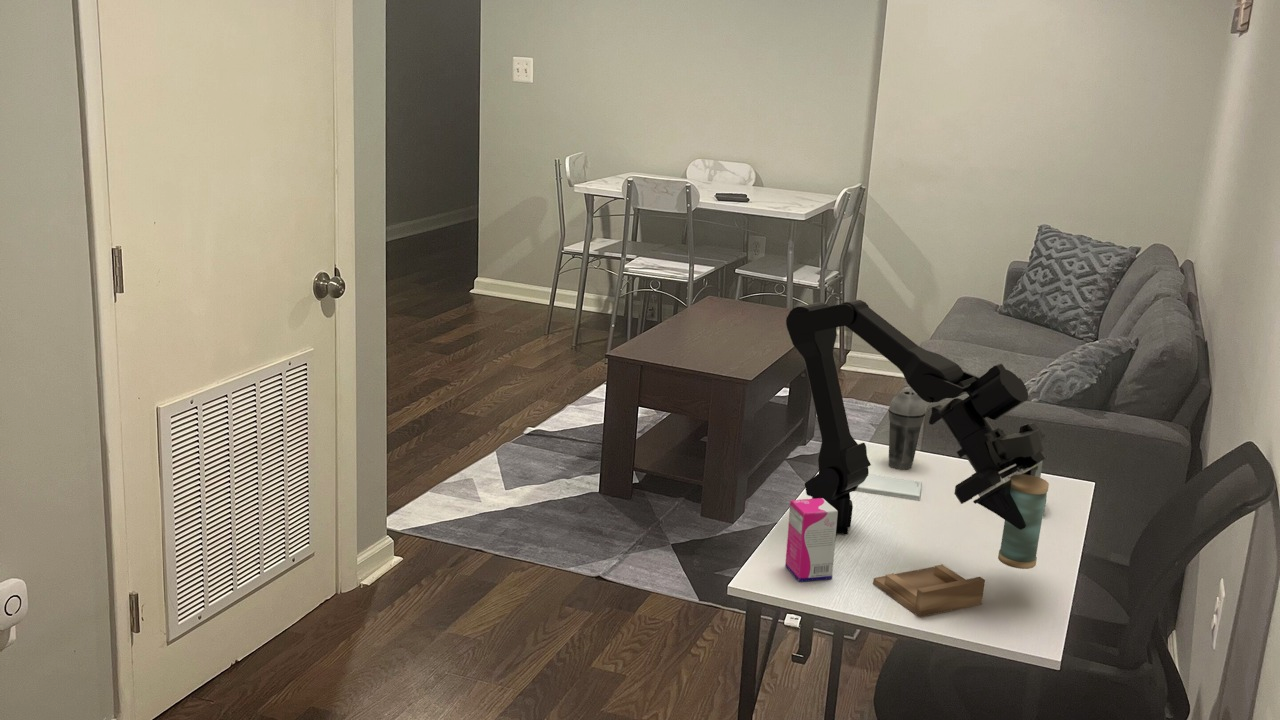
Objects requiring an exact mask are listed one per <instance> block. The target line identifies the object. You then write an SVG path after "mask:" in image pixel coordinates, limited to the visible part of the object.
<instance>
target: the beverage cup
mask: <svg viewBox="0 0 1280 720" xmlns="http://www.w3.org/2000/svg"><path fill="white" fill-rule="evenodd" d="M913 391H914V390H913V389H912V388H911V387H910V389H909V391H902V392H899V393H898V394H896V395H894V397H893V398H892V400H891V402H890V404H889V407H888V410H887V411H888V420H889V434H888V435H889V436H888V437H889V438H888V440H889V441H888V442H889V443H888V466H889V467H890V468H891V469H894V470H899V471H910V470H911V469H912V467H913V464H914V459H915V455H916V451H917V445H918V442H919V437H920V432H921V428H922V425H923V423H924V419H925V416H926V406H925V402H924V400H922V399H921V398H920V397H919V396H918V395H917V394H916V393H915V392H913Z"/></svg>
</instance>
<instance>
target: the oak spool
mask: <svg viewBox="0 0 1280 720" xmlns="http://www.w3.org/2000/svg"><path fill="white" fill-rule="evenodd" d="M1010 480H1011V489H1010V494H1011V496H1012V498H1013V500H1014V502H1015V504H1016V506H1017V507H1018V509H1019V511H1020V513H1021V515H1022V517H1023V519H1024V521H1025V524H1026V527H1025V528H1024V529H1022V530H1020V529H1018V528H1016V527H1015V526H1013V525H1012V524H1010V523H1009V522H1007V521H1006V520H1004V522H1003V528H1002V529H1003V530H1002V536H1001V543H1000V547H999V548H1000V549H999V550H998V556H997V560H998V561H1000V563H1002V564H1003V565H1005V566H1008V567H1010V568H1013V569H1015V568H1016V569H1020V570H1021V569H1022V570H1027V569H1028V570H1029V569H1033V568H1035V566H1037V560H1038V559H1037V555H1038V554H1037V553H1038V547H1039V541H1040V535H1041V529H1042V524H1043V523H1042V521H1043V517H1044V516H1043V515H1044V512H1045V511H1044V510H1045V509H1044V508H1045V507H1044V504H1045V498H1046V493H1047V494H1048V492H1049V485H1050V484H1049V482H1048V481H1047V480H1046V479H1044V478H1041V477H1040V478H1039V477H1036V476H1032V475H1024V474H1018V475H1013V476H1011V477H1010ZM1046 499H1047V498H1046ZM1045 505H1046V504H1045Z"/></svg>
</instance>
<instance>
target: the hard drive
mask: <svg viewBox="0 0 1280 720" xmlns="http://www.w3.org/2000/svg"><path fill="white" fill-rule="evenodd" d="M922 483H923V482H922V481H918V480H915V479H905V478H899V477H892V476H886V475H880V474H879V475H877V474H872V473H868V476H867V477H866V479H865V481H864V482H863V483H861V484H859V486H858V487H857V489H856V491H855V492H860V493H864V492H865V493H866V494H871V495H876V496H877V495H878V496H883V497H884V496H885V497H892V498H897V499H905V500H910V501H917V502H919V501H920V500H919V499H920V498H921V491H922Z"/></svg>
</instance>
